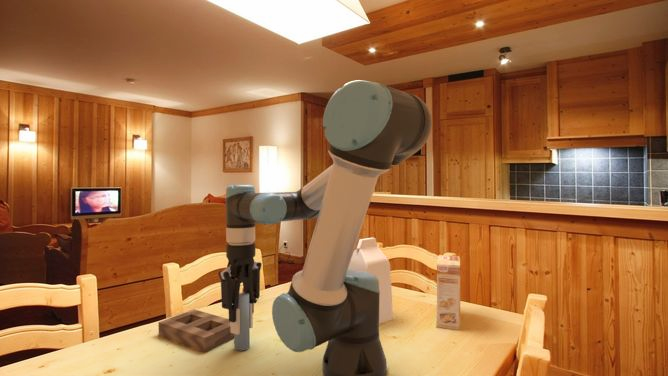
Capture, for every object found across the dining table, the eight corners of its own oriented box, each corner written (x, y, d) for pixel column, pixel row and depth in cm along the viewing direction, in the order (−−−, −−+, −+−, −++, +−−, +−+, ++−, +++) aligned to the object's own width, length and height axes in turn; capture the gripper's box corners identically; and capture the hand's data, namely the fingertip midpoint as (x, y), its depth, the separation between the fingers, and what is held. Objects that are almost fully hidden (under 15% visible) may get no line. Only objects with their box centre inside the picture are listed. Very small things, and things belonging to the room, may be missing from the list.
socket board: (239, 335, 103) (239, 322, 102) (205, 353, 92) (204, 337, 92) (194, 321, 113) (193, 309, 113) (158, 335, 103) (158, 322, 103)
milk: (366, 328, 107) (366, 243, 107) (341, 317, 116) (341, 238, 116) (393, 318, 115) (393, 239, 115) (368, 309, 124) (368, 234, 123)
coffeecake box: (460, 330, 106) (460, 265, 106) (435, 327, 108) (435, 263, 108) (459, 313, 120) (460, 255, 120) (437, 310, 122) (438, 254, 122)
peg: (252, 345, 96) (252, 294, 95) (241, 351, 92) (241, 298, 92) (242, 342, 98) (241, 291, 98) (230, 348, 94) (230, 295, 94)
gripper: (253, 237, 104) (253, 316, 104) (205, 246, 89) (206, 338, 90) (272, 239, 100) (273, 321, 100) (226, 249, 85) (227, 345, 86)
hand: (241, 329), depth 95 cm, fingers closed on peg, 4 cm apart
